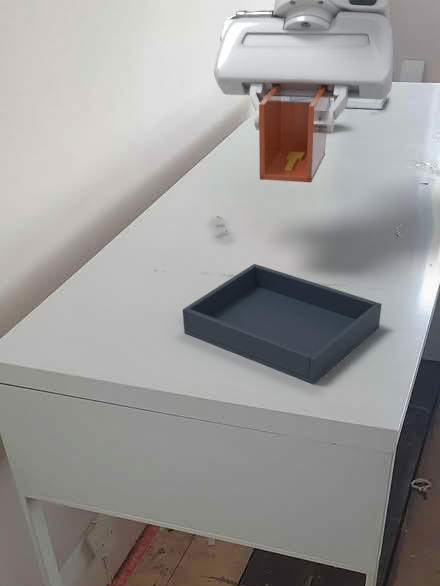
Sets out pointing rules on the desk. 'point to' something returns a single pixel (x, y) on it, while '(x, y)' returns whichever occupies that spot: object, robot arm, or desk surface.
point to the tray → (283, 321)
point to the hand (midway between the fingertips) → (293, 129)
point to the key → (293, 159)
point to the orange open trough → (290, 136)
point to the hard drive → (364, 103)
